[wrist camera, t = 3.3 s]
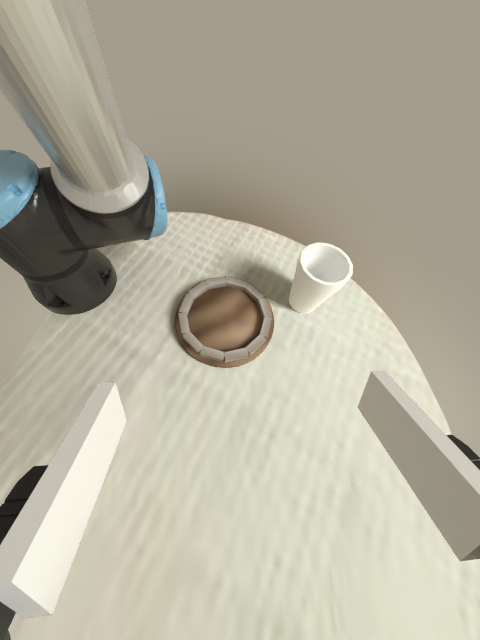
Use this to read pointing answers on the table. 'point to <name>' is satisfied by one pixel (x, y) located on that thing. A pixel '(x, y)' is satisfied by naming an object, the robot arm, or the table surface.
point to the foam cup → (318, 276)
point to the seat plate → (224, 322)
